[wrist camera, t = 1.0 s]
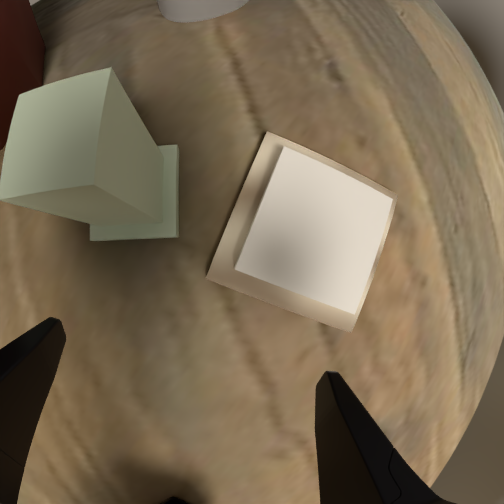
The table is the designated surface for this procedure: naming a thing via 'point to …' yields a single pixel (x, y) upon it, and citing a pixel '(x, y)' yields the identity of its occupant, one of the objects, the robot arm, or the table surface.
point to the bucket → (18, 58)
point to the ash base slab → (240, 226)
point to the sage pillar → (91, 160)
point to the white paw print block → (197, 9)
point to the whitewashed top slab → (315, 232)
